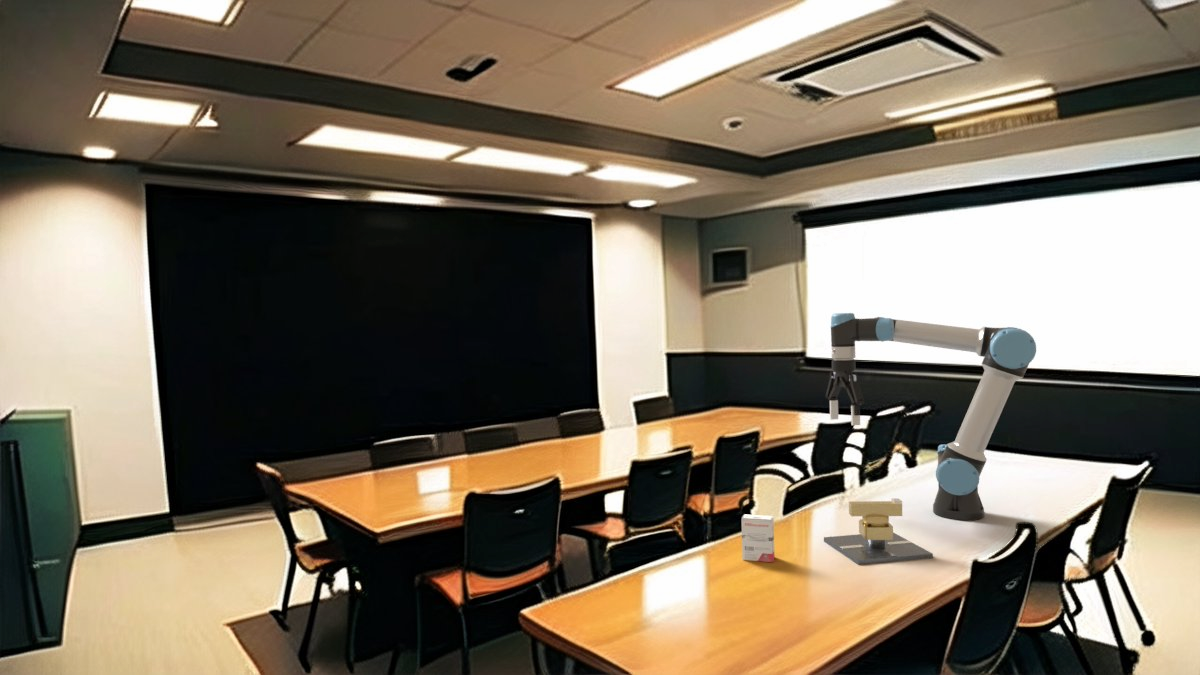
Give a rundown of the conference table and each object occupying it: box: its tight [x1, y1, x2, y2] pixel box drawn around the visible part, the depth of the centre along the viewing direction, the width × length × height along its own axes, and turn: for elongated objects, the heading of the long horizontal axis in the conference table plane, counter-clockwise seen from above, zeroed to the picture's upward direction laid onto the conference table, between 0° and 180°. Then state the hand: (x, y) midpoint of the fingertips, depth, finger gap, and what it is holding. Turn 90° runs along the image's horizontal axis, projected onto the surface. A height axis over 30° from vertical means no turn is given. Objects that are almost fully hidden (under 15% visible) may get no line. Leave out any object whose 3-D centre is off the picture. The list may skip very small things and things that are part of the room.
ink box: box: [741, 513, 775, 563], centre depth 195 cm, size 9×5×12 cm, turn 71°
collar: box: [848, 498, 903, 540], centre depth 199 cm, size 8×14×10 cm, turn 85°
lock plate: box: [823, 526, 934, 566], centre depth 199 cm, size 22×20×7 cm
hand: (844, 422), depth 233 cm, fingers open, 13 cm apart
